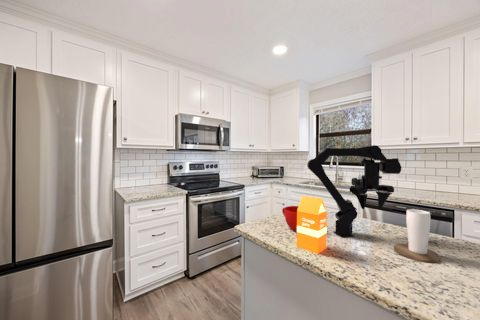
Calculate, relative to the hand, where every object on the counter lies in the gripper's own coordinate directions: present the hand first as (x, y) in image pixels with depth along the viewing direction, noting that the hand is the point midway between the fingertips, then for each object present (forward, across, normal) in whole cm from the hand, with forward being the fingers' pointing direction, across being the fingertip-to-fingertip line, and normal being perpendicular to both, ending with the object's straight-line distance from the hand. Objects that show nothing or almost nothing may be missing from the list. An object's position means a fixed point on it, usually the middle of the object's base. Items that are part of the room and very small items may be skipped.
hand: (371, 208), depth 92 cm
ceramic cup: (+13, +28, -18) cm, 36 cm away
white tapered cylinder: (+12, -3, +18) cm, 22 cm away
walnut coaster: (+13, -3, +17) cm, 22 cm away
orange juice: (+13, +32, +4) cm, 35 cm away
